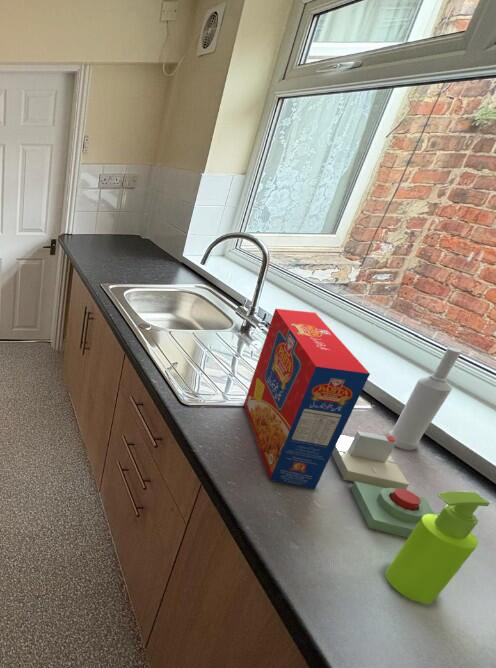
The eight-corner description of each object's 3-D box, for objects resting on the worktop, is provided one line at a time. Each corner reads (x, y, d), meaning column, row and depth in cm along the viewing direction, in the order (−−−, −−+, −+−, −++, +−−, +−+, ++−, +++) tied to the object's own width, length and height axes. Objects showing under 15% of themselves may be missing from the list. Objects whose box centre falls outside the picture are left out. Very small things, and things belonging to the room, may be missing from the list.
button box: (419, 505, 81) (429, 490, 79) (446, 548, 73) (458, 532, 71) (350, 488, 85) (358, 474, 83) (368, 527, 77) (377, 512, 75)
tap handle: (350, 455, 90) (361, 434, 87) (347, 450, 91) (358, 429, 89) (385, 462, 88) (397, 441, 85) (381, 457, 89) (393, 436, 87)
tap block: (324, 440, 98) (328, 431, 97) (378, 451, 94) (383, 442, 93) (342, 479, 87) (347, 470, 86) (404, 493, 84) (410, 484, 82)
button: (411, 498, 78) (415, 491, 77) (420, 513, 75) (424, 506, 74) (387, 492, 79) (391, 486, 79) (395, 507, 76) (399, 500, 76)
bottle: (419, 445, 96) (475, 350, 85) (412, 454, 94) (469, 358, 82) (390, 433, 100) (440, 341, 89) (383, 441, 97) (434, 348, 86)
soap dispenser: (369, 567, 70) (425, 480, 61) (411, 568, 70) (473, 481, 61) (399, 603, 65) (465, 513, 56) (445, 604, 64) (518, 514, 55)
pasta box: (243, 404, 111) (275, 308, 98) (278, 410, 108) (315, 312, 96) (269, 479, 87) (315, 366, 75) (314, 489, 85) (370, 373, 72)
